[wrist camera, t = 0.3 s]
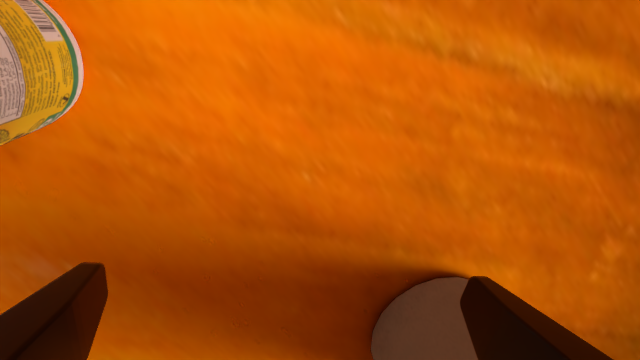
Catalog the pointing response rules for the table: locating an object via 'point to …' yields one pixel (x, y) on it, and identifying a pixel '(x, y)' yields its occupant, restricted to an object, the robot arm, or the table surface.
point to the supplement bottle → (35, 67)
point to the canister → (424, 324)
